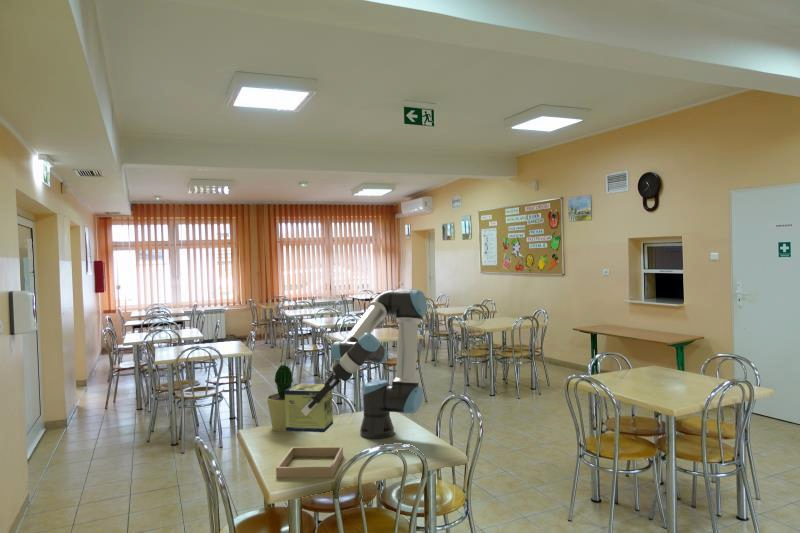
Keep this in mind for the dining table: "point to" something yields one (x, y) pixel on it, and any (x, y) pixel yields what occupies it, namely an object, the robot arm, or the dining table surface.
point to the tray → (309, 471)
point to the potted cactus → (279, 398)
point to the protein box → (317, 417)
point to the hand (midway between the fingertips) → (307, 408)
